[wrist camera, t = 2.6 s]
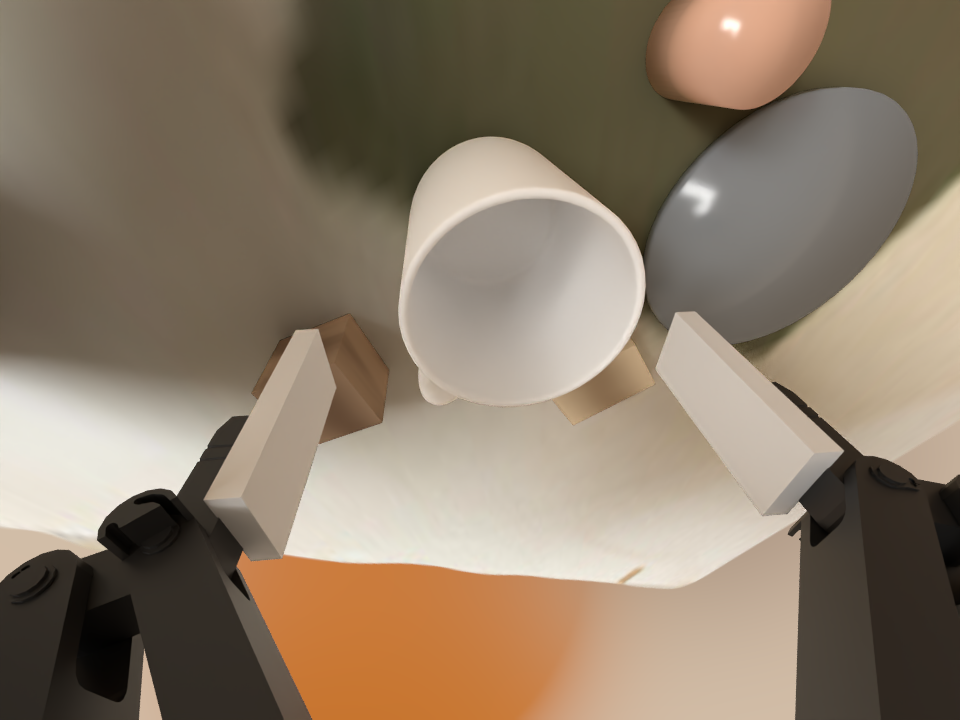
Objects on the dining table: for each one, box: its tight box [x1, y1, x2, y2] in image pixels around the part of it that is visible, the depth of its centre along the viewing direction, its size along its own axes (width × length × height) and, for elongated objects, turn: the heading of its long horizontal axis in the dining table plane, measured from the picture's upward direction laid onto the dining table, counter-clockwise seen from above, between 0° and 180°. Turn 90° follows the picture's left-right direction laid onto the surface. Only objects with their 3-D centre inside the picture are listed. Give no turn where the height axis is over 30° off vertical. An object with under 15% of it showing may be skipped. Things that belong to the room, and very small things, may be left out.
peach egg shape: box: [646, 0, 831, 110], centre depth 15 cm, size 4×4×5 cm
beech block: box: [552, 338, 655, 425], centre depth 26 cm, size 6×4×4 cm, turn 124°
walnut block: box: [251, 314, 389, 444], centre depth 23 cm, size 5×5×5 cm
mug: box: [398, 136, 646, 407], centre depth 18 cm, size 12×8×10 cm
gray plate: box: [643, 87, 918, 344], centre depth 23 cm, size 15×15×1 cm
